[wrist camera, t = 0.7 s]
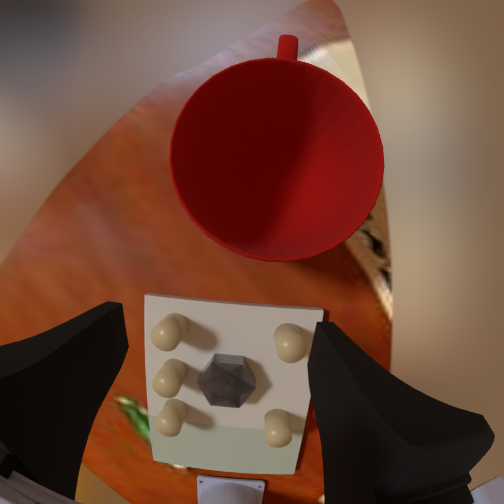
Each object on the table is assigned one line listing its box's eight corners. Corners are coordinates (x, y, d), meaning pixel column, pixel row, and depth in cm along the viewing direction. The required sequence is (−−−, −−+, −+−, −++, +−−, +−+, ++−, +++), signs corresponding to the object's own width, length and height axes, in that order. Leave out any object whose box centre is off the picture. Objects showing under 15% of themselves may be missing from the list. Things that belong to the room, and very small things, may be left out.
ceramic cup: (345, 90, 26) (379, 36, 16) (333, 260, 27) (376, 274, 17) (215, 74, 26) (199, 12, 16) (190, 245, 27) (154, 249, 17)
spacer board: (292, 468, 28) (297, 494, 23) (155, 455, 28) (145, 478, 23) (321, 307, 27) (333, 320, 22) (148, 292, 27) (130, 302, 23)
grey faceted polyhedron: (261, 389, 26) (262, 399, 24) (219, 405, 27) (217, 415, 25) (237, 343, 26) (235, 352, 24) (193, 361, 26) (189, 370, 24)
